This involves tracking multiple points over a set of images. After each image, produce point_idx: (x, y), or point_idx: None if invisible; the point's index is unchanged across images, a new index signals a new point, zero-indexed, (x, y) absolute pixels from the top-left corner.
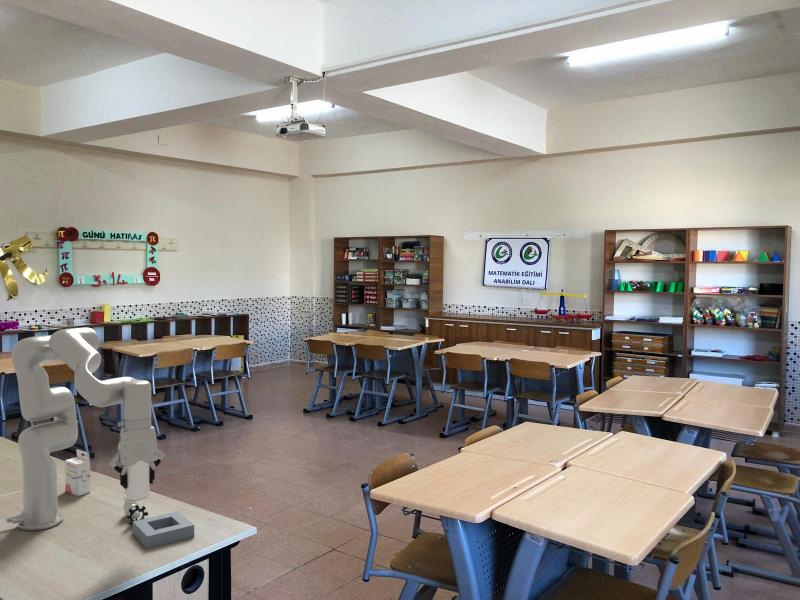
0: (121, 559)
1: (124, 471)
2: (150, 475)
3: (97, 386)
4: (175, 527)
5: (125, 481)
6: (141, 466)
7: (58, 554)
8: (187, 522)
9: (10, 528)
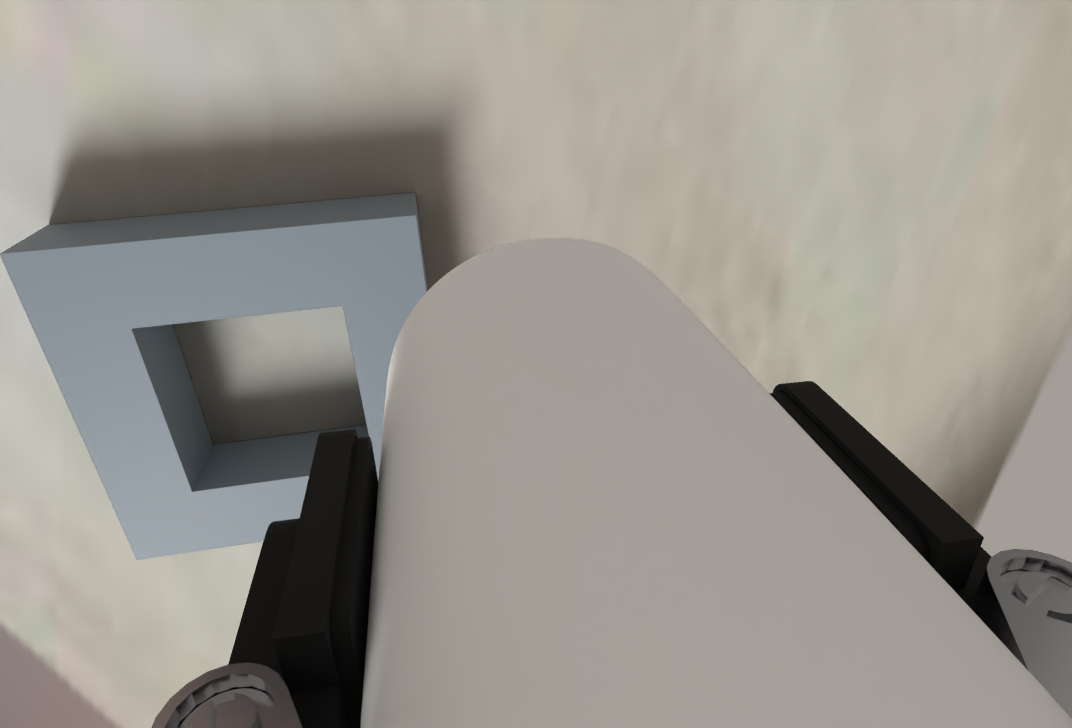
0: (606, 98)
1: (1055, 625)
2: (354, 542)
3: None
4: (175, 279)
5: (872, 449)
6: (744, 662)
7: (851, 365)
8: (64, 333)
9: None
